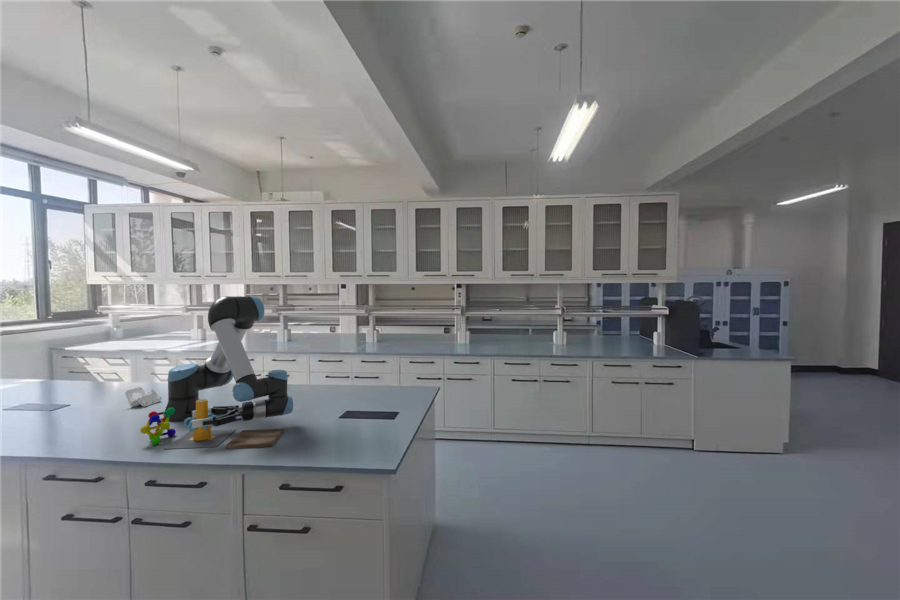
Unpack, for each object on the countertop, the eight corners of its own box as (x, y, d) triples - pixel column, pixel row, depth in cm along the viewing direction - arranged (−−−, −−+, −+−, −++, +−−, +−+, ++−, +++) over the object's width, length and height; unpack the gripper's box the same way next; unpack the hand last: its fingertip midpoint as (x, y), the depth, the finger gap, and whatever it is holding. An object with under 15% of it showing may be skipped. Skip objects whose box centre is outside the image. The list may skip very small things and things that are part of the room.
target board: (242, 433, 160) (242, 430, 160) (283, 431, 162) (283, 428, 162) (225, 448, 144) (225, 445, 144) (271, 446, 146) (271, 443, 146)
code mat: (189, 431, 161) (189, 431, 161) (235, 429, 163) (235, 429, 163) (163, 449, 143) (163, 448, 143) (216, 447, 146) (216, 446, 146)
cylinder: (200, 445, 146) (200, 405, 146) (177, 443, 148) (177, 404, 148) (225, 433, 158) (225, 397, 158) (203, 431, 160) (203, 395, 160)
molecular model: (157, 445, 146) (157, 415, 146) (138, 445, 146) (138, 415, 146) (178, 435, 158) (178, 406, 158) (161, 435, 158) (161, 406, 158)
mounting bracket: (153, 404, 205) (145, 385, 205) (163, 400, 204) (155, 381, 204) (132, 411, 193) (124, 391, 193) (143, 406, 192) (134, 386, 192)
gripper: (257, 428, 153) (191, 439, 141) (249, 411, 173) (192, 419, 162) (257, 409, 152) (191, 418, 141) (249, 394, 173) (192, 401, 162)
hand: (191, 419), depth 151 cm, fingers open, 13 cm apart
